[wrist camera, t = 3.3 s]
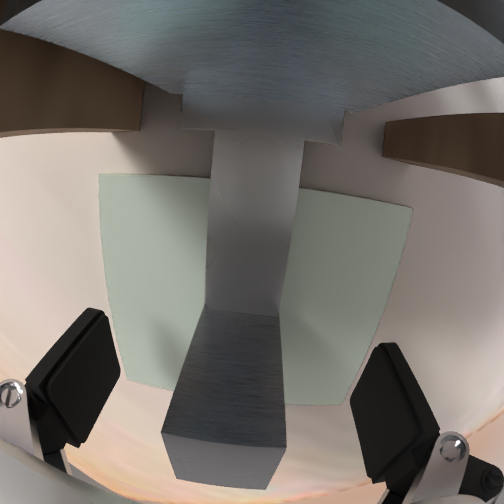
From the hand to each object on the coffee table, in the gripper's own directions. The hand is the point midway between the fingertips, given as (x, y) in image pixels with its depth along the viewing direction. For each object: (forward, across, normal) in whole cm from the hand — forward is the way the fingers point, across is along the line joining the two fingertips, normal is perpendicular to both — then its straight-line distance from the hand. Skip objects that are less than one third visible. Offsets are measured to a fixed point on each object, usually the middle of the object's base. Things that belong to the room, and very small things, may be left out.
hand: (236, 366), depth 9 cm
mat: (+2, 0, -1) cm, 2 cm away
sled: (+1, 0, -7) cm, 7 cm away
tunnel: (+2, 0, -11) cm, 11 cm away
